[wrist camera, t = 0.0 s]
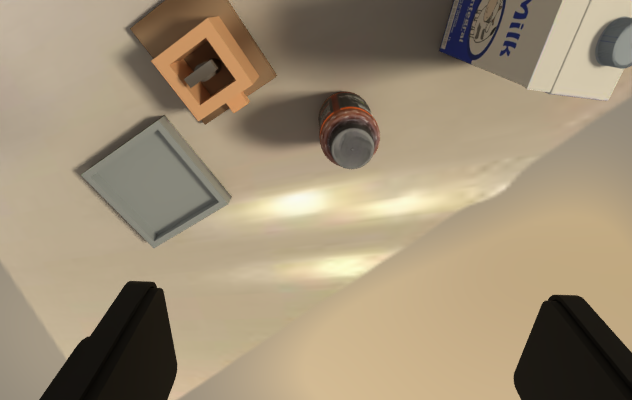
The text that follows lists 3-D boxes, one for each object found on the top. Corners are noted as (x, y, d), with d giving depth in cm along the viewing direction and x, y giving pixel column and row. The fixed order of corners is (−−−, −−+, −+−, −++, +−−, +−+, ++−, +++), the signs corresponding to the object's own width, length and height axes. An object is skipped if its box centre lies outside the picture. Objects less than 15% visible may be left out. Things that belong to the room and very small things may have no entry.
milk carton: (459, -22, 38) (581, -42, 21) (524, -10, 39) (697, -19, 21) (438, 52, 42) (527, 91, 24) (497, 63, 42) (629, 108, 24)
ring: (167, 55, 41) (151, 60, 37) (218, 16, 39) (207, 17, 35) (218, 122, 44) (208, 134, 40) (267, 89, 42) (262, 98, 38)
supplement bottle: (319, 141, 46) (319, 180, 36) (318, 90, 44) (318, 117, 34) (368, 140, 46) (382, 178, 36) (371, 89, 43) (386, 116, 33)
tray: (89, 168, 48) (80, 174, 46) (164, 115, 45) (158, 120, 43) (159, 240, 53) (153, 248, 51) (231, 196, 50) (228, 204, 48)
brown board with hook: (134, 28, 41) (103, 32, 35) (207, -31, 38) (187, -37, 32) (207, 122, 45) (191, 139, 39) (276, 75, 43) (270, 86, 37)
